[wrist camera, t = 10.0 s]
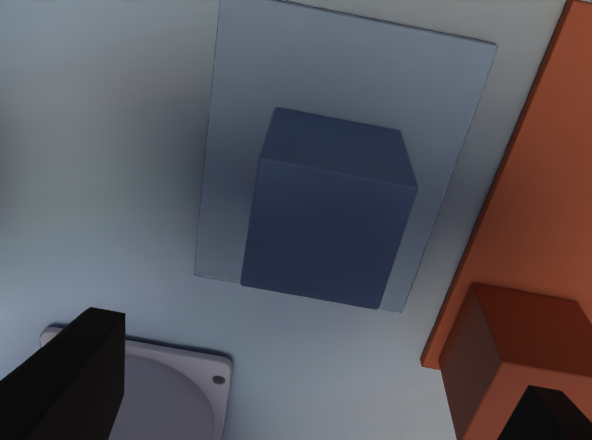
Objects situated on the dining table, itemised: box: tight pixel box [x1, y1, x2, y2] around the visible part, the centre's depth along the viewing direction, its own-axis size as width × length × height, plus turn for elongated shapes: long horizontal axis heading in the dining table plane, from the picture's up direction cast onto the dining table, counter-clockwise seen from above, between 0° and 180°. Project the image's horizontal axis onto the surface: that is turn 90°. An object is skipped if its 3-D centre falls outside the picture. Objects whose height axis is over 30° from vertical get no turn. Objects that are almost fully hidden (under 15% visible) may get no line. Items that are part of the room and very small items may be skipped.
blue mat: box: [194, 0, 498, 313], centre depth 17 cm, size 10×8×1 cm
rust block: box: [438, 283, 592, 440], centre depth 18 cm, size 4×4×4 cm
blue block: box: [240, 107, 418, 310], centre depth 15 cm, size 4×4×4 cm
